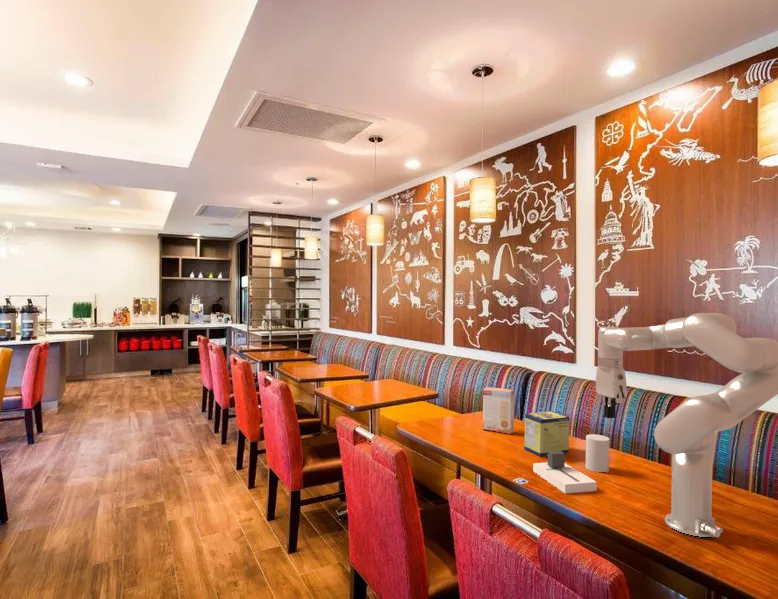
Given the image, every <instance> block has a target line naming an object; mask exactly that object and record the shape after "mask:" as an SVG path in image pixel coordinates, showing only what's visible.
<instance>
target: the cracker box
mask: <svg viewBox="0 0 778 599" xmlns="http://www.w3.org/2000/svg"><path fill="white" fill-rule="evenodd" d="M482 393H483V395H482V397H483V399H482V430H483V429H485V430H490V431H489V432H492V431H496V432H495V433H498V432H502V433H501V434H504V433H507V434H506V435H512V434H513V433H515V432H514V431H515V389H508V388H500V387H499V388H498V387H491V386H490V387H489V386H487V387H484V388H483V391H482ZM485 430H484V431H485ZM511 433H512V434H511Z"/></svg>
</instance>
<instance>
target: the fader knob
mask: <svg viewBox="0 0 778 599" xmlns="http://www.w3.org/2000/svg"><path fill="white" fill-rule="evenodd" d="M565 454H566V453H563V452H561V451H549V452H548V456H547V462H548V466H550V467H551V468H560V467H564V466H565V464H566V462H565V460H566V459H565Z"/></svg>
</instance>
